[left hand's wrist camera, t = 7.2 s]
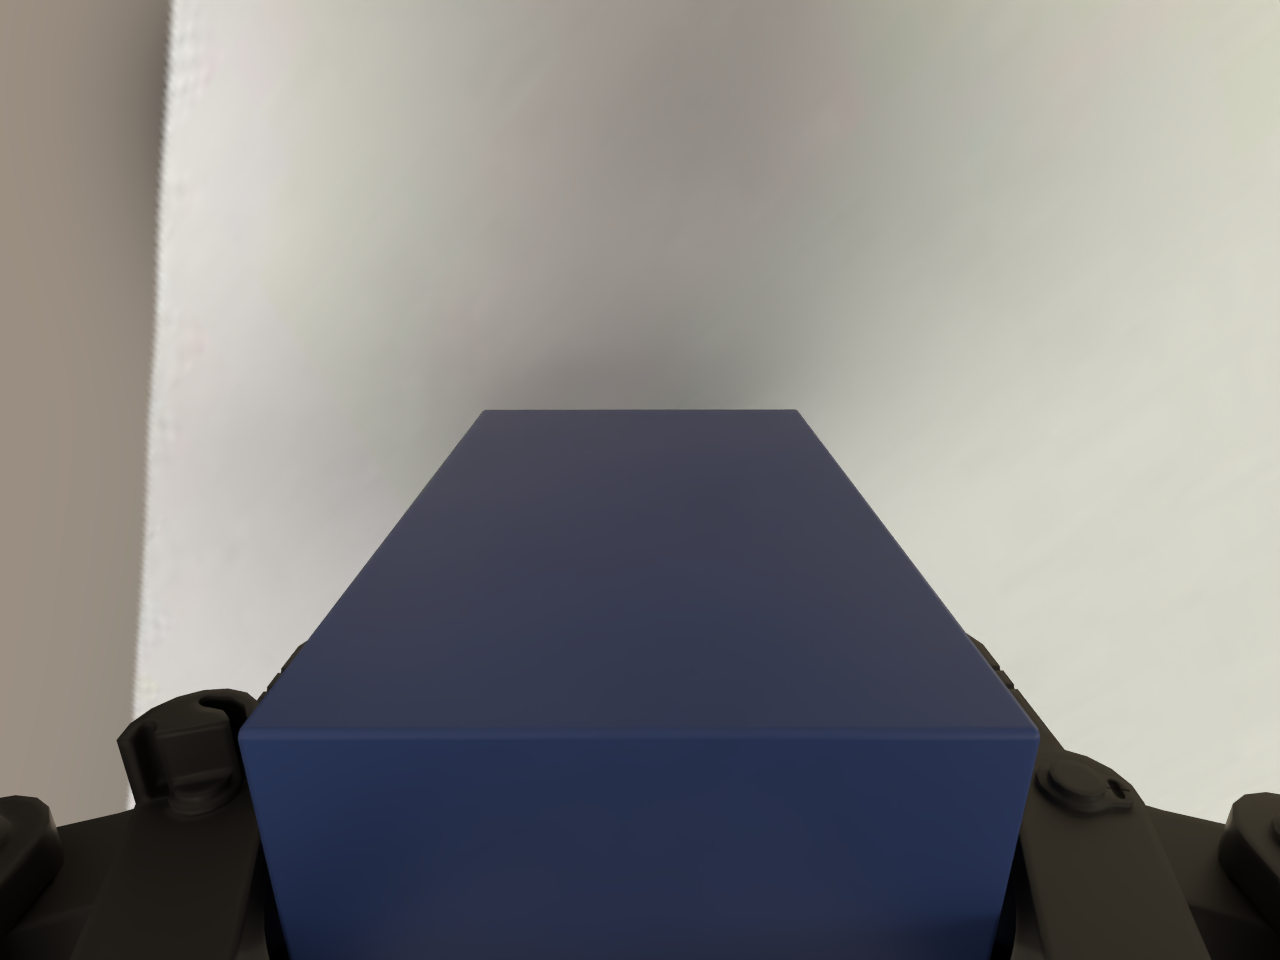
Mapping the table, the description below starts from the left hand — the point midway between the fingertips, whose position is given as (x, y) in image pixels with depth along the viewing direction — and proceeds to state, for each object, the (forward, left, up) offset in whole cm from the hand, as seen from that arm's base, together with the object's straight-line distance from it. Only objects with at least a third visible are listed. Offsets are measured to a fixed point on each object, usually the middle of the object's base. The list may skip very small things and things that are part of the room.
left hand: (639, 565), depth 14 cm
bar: (+10, +3, -1) cm, 11 cm away
